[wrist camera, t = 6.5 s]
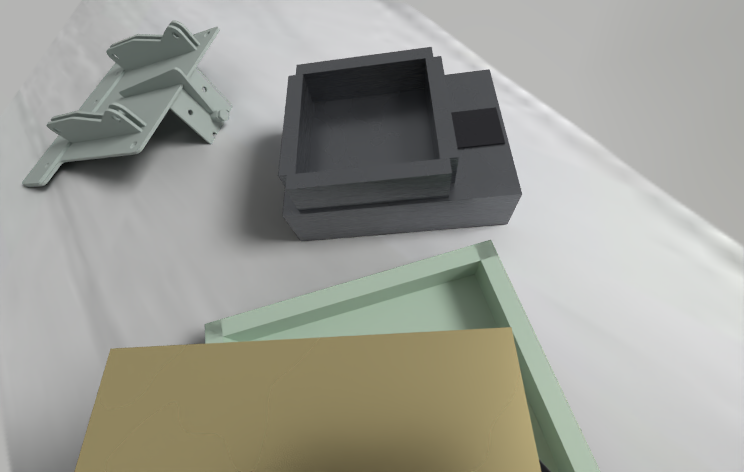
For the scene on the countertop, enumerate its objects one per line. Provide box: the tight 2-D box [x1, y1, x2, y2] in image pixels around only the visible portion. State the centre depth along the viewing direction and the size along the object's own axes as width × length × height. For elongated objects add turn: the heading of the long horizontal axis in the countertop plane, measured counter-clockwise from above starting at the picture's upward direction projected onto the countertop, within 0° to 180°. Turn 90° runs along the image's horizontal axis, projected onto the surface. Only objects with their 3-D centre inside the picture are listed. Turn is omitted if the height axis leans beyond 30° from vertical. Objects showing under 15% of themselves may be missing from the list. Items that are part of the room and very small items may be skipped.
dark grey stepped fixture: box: [278, 47, 522, 241], centre depth 19 cm, size 8×12×5 cm
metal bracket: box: [22, 20, 232, 187], centre depth 26 cm, size 14×6×15 cm
